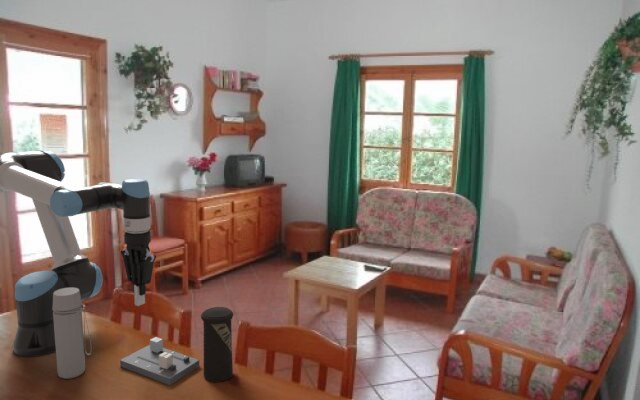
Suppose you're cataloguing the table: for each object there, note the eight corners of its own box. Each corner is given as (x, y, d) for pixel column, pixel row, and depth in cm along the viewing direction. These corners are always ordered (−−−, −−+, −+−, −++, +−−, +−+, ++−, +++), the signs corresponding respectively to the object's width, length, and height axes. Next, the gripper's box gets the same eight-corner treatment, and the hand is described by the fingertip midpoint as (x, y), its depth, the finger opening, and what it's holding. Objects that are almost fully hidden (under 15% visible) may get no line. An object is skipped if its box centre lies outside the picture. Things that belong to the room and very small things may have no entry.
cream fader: (159, 366, 139) (158, 355, 138) (165, 362, 141) (164, 351, 140) (166, 369, 137) (166, 357, 137) (172, 365, 139) (172, 354, 139)
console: (120, 366, 143) (119, 356, 142) (151, 349, 153) (151, 340, 152) (169, 385, 133) (169, 374, 133) (199, 366, 144) (199, 356, 143)
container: (226, 385, 134) (226, 318, 131) (197, 380, 136) (195, 314, 133) (238, 369, 143) (237, 306, 139) (209, 365, 144) (209, 303, 141)
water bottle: (57, 383, 133) (50, 298, 128) (57, 369, 140) (51, 288, 135) (93, 375, 137) (88, 293, 133) (92, 363, 144) (87, 284, 139)
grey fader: (150, 350, 148) (149, 339, 147) (156, 347, 150) (155, 336, 149) (157, 352, 146) (156, 341, 146) (163, 349, 148) (162, 338, 148)
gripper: (112, 229, 144) (115, 303, 148) (142, 236, 138) (145, 312, 142) (132, 225, 150) (135, 295, 155) (162, 231, 144) (164, 304, 149)
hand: (140, 304), depth 148 cm, fingers closed
